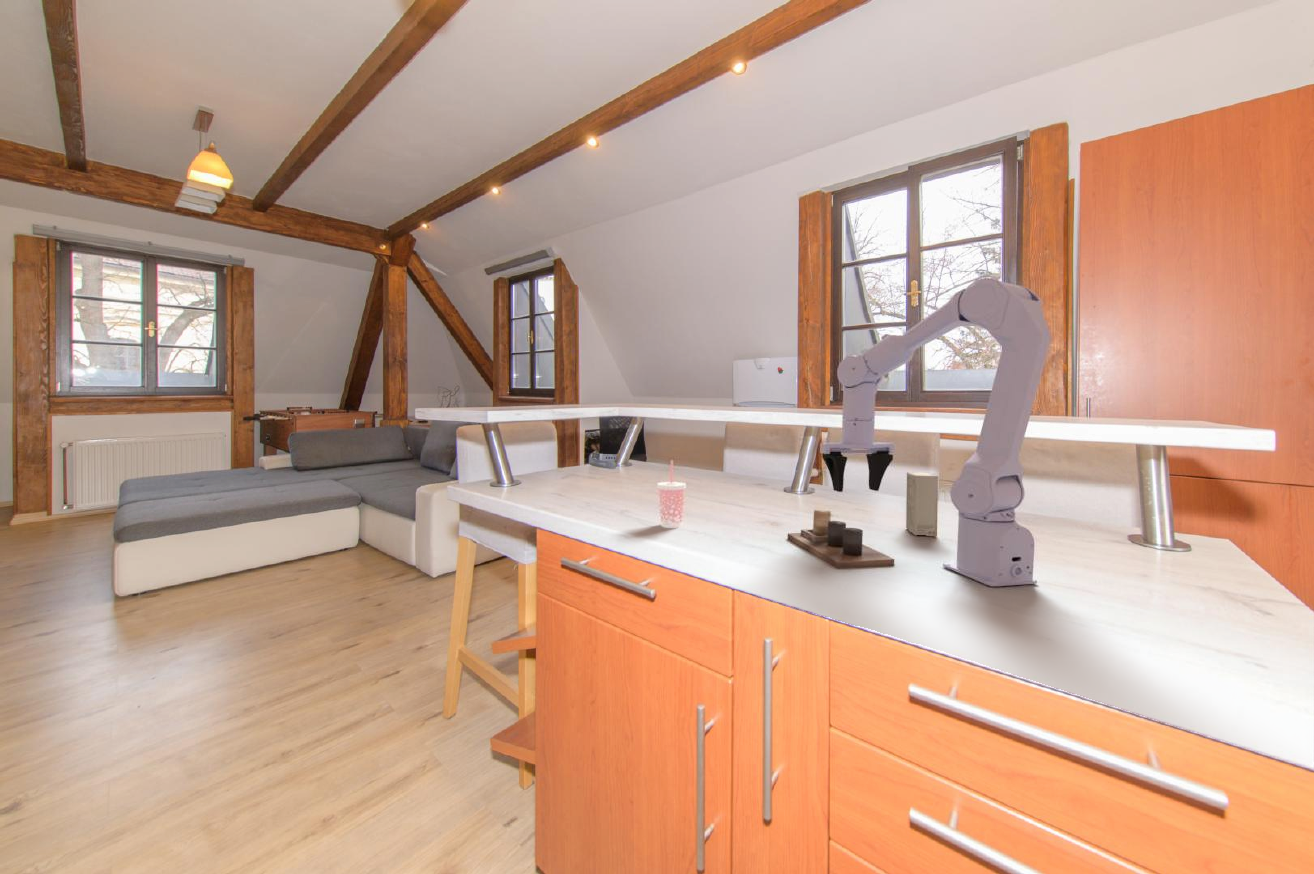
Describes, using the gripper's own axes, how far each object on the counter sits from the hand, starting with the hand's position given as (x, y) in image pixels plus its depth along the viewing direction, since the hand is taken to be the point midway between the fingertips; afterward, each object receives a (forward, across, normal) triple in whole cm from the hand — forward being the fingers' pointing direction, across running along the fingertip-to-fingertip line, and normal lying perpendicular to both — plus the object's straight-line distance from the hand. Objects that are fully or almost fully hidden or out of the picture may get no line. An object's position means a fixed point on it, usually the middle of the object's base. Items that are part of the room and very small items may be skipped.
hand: (856, 490), depth 96 cm
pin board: (+9, +8, +7) cm, 14 cm away
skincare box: (+10, -16, -2) cm, 19 cm away
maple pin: (+8, +8, +2) cm, 12 cm away
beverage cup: (+10, +33, -16) cm, 38 cm away
